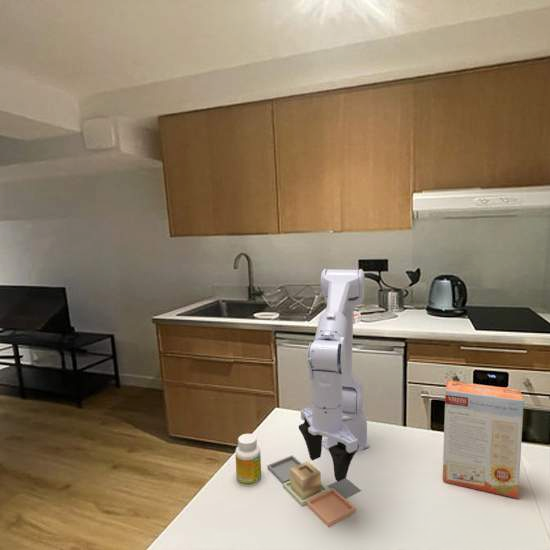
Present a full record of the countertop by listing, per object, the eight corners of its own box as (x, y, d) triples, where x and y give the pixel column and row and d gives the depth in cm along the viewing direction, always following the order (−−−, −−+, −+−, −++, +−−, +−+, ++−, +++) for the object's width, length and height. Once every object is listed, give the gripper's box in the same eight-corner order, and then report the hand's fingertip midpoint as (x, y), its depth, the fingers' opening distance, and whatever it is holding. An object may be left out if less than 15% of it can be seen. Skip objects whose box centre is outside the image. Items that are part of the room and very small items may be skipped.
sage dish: (308, 476, 88) (308, 472, 87) (328, 494, 82) (328, 489, 82) (283, 488, 84) (282, 483, 84) (301, 507, 78) (301, 502, 78)
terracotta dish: (332, 492, 82) (332, 488, 82) (355, 513, 77) (355, 508, 76) (306, 506, 79) (306, 501, 79) (328, 528, 73) (328, 523, 73)
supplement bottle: (257, 489, 84) (256, 446, 83) (233, 486, 85) (231, 444, 84) (263, 473, 89) (262, 432, 88) (240, 470, 90) (238, 430, 89)
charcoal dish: (292, 459, 94) (292, 455, 94) (309, 474, 88) (309, 470, 88) (267, 469, 90) (267, 465, 90) (283, 486, 85) (283, 481, 85)
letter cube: (307, 480, 86) (307, 460, 85) (320, 492, 82) (320, 472, 82) (290, 488, 84) (290, 468, 83) (303, 500, 80) (302, 480, 79)
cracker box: (514, 481, 84) (521, 388, 81) (518, 500, 79) (525, 401, 76) (442, 466, 90) (446, 378, 87) (441, 482, 85) (445, 389, 82)
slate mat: (345, 478, 87) (345, 477, 87) (361, 491, 82) (361, 490, 82) (327, 487, 84) (327, 486, 84) (343, 501, 80) (343, 500, 80)
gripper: (287, 393, 79) (289, 456, 81) (336, 424, 67) (336, 497, 69) (316, 384, 83) (316, 445, 85) (366, 412, 71) (366, 482, 73)
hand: (327, 468), depth 77 cm, fingers open, 7 cm apart
